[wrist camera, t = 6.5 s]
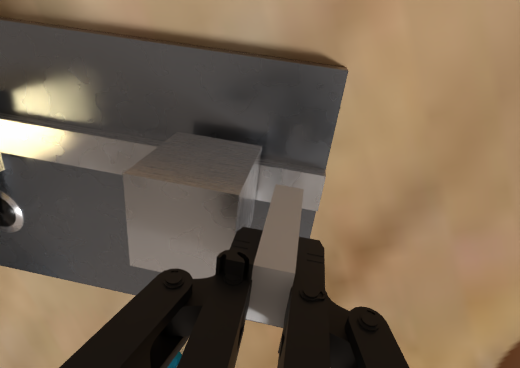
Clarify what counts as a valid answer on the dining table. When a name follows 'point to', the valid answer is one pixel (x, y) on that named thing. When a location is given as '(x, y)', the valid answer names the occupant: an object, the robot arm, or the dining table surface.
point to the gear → (175, 361)
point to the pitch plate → (138, 136)
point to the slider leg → (189, 202)
